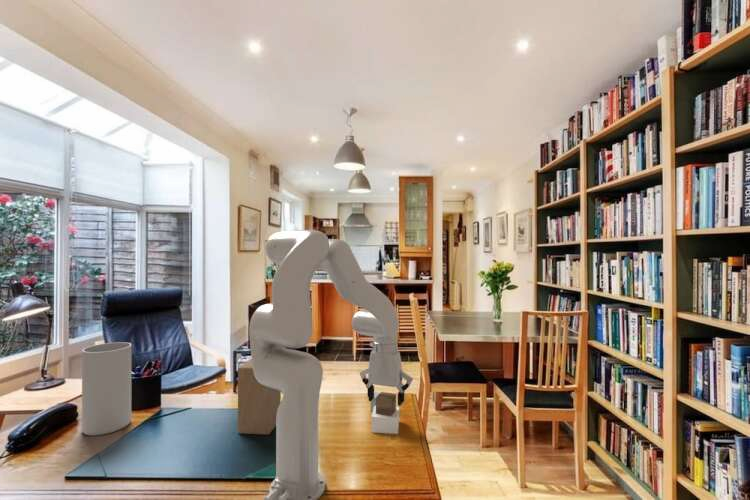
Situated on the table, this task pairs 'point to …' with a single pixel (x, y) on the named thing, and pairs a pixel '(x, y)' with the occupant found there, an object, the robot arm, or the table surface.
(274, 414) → the wooden block
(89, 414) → the cylinder vase
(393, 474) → the table surface
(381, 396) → the walnut cube
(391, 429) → the off-white block
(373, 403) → the slate-grey cube
